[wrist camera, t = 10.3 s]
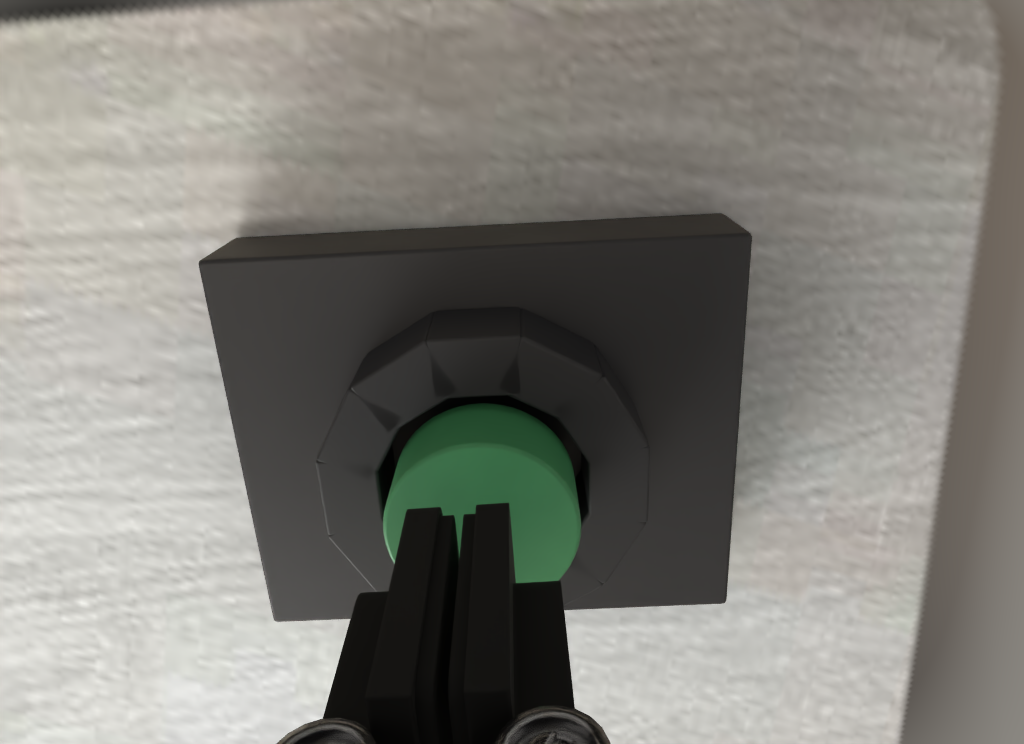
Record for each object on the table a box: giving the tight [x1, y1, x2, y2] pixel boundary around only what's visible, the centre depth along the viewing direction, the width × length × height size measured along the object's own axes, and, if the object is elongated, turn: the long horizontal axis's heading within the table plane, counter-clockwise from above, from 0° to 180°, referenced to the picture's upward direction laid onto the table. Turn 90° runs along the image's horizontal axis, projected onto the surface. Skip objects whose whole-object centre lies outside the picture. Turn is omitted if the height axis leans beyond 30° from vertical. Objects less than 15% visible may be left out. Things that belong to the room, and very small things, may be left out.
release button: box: [383, 403, 581, 583], centre depth 14 cm, size 4×4×2 cm
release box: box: [199, 214, 752, 622], centre depth 17 cm, size 11×9×4 cm
